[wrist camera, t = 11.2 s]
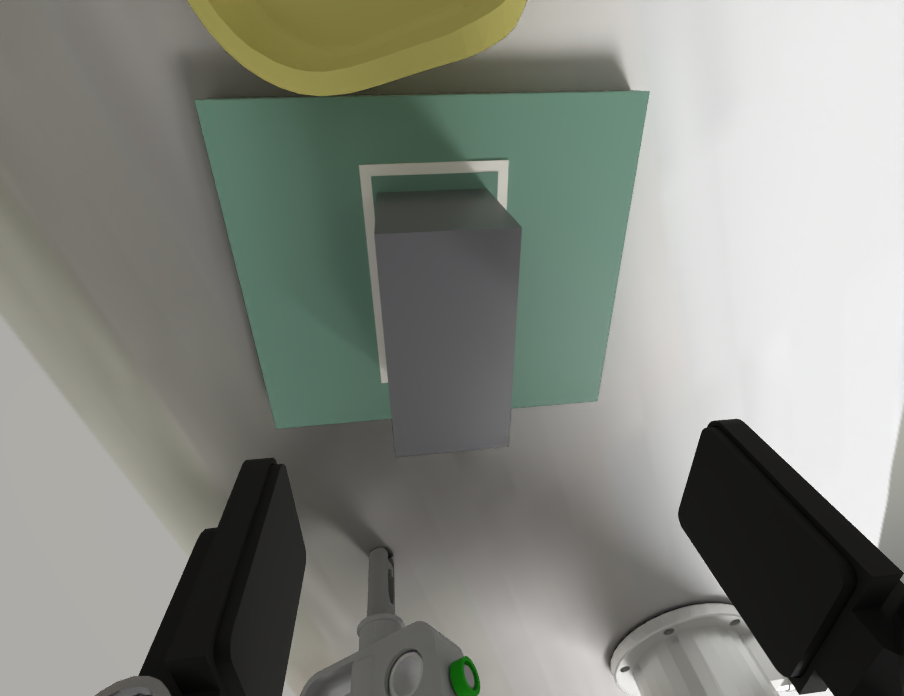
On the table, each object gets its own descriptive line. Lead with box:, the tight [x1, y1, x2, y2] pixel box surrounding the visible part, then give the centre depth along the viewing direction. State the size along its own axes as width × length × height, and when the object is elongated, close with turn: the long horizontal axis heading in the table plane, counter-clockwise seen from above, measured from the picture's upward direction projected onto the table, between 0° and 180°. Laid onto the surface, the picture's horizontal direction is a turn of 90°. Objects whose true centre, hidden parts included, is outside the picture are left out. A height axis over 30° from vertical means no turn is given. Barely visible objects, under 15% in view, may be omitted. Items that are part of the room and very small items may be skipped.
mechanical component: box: [300, 547, 480, 696], centre depth 26 cm, size 3×10×10 cm, turn 123°
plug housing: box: [374, 189, 522, 457], centre depth 18 cm, size 4×8×6 cm, turn 1°
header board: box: [194, 90, 650, 429], centre depth 19 cm, size 16×14×5 cm
